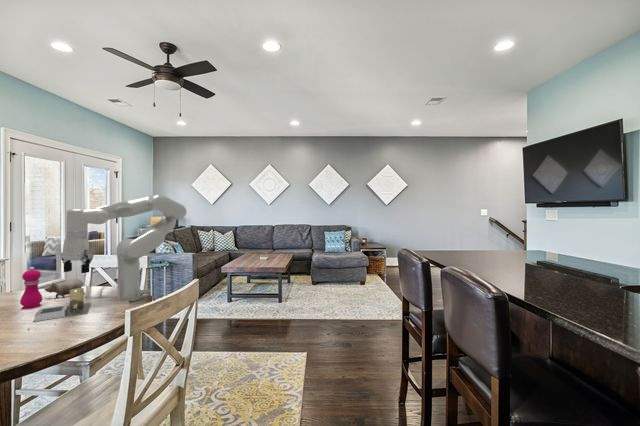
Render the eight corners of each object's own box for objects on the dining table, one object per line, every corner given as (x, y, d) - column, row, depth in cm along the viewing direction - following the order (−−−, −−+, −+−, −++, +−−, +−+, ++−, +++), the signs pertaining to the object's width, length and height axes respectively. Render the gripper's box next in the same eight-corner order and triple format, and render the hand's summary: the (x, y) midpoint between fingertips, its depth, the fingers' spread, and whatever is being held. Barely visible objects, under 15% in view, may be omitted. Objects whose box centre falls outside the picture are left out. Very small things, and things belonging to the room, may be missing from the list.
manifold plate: (91, 305, 137) (91, 297, 137) (87, 317, 122) (87, 308, 122) (42, 312, 127) (43, 303, 127) (32, 326, 112) (32, 316, 112)
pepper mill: (27, 313, 125) (28, 268, 125) (15, 312, 127) (15, 267, 127) (46, 307, 133) (46, 265, 132) (34, 306, 134) (35, 264, 134)
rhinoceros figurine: (90, 292, 150) (68, 270, 146) (61, 311, 143) (38, 289, 139) (91, 289, 157) (71, 269, 152) (64, 308, 150) (42, 287, 146)
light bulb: (84, 304, 134) (84, 287, 134) (83, 307, 130) (83, 290, 130) (70, 306, 131) (70, 289, 131) (68, 309, 127) (68, 291, 127)
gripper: (52, 235, 128) (52, 272, 128) (84, 236, 125) (84, 275, 125) (70, 234, 135) (69, 269, 135) (100, 235, 132) (99, 271, 132)
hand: (76, 272), depth 130 cm, fingers open, 9 cm apart
